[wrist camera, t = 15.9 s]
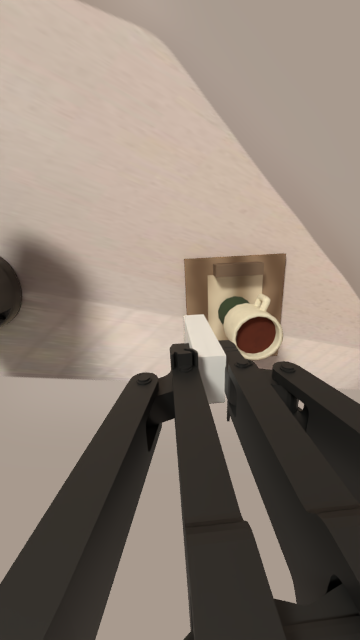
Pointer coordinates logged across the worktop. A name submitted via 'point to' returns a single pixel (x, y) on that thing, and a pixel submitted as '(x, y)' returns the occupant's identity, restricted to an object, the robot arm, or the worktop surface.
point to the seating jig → (233, 284)
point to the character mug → (251, 326)
